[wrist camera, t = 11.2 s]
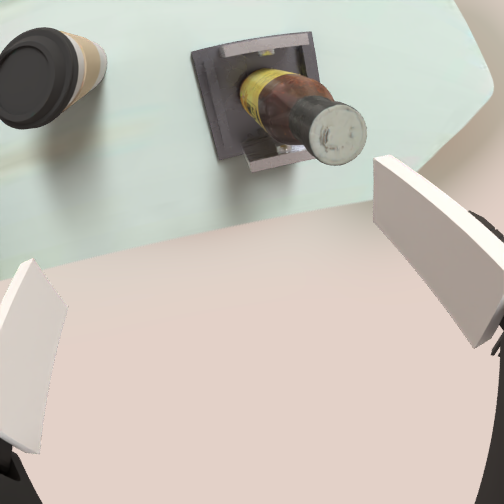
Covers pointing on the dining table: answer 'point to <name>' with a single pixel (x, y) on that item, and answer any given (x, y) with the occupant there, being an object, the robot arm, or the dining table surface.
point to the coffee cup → (46, 75)
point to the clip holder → (228, 94)
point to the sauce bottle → (303, 115)
